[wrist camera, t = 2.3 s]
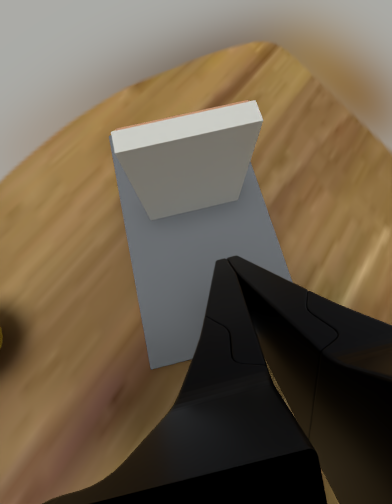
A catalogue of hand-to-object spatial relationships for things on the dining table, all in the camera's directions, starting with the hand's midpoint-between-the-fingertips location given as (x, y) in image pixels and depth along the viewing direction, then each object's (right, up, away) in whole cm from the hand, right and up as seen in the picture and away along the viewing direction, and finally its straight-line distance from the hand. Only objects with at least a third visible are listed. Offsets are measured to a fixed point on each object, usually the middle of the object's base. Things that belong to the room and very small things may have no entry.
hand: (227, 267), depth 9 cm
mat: (-1, +3, +10) cm, 10 cm away
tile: (-1, +4, +10) cm, 11 cm away
